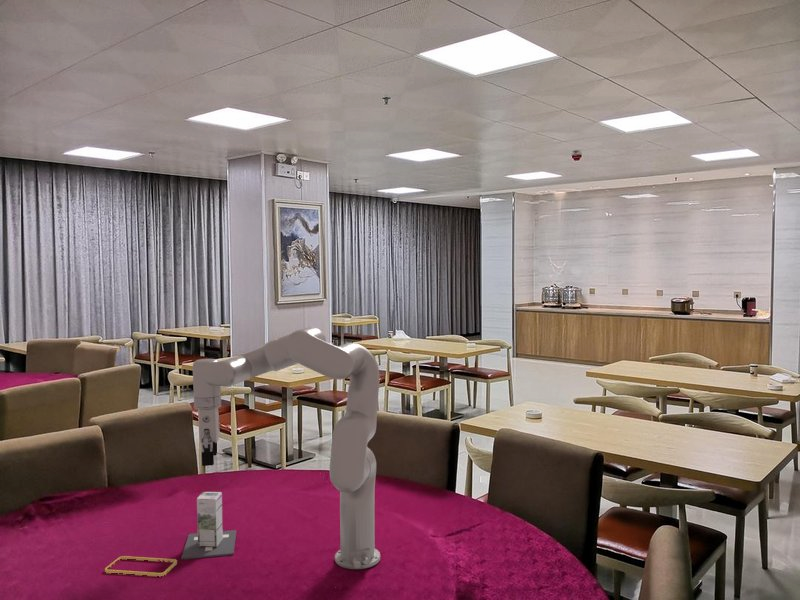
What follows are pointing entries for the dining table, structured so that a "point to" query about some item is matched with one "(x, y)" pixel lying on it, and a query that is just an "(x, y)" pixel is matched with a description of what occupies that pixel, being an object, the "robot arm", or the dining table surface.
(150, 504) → the dining table surface
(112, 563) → the phone case
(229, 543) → the letter mat
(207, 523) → the syrup box
